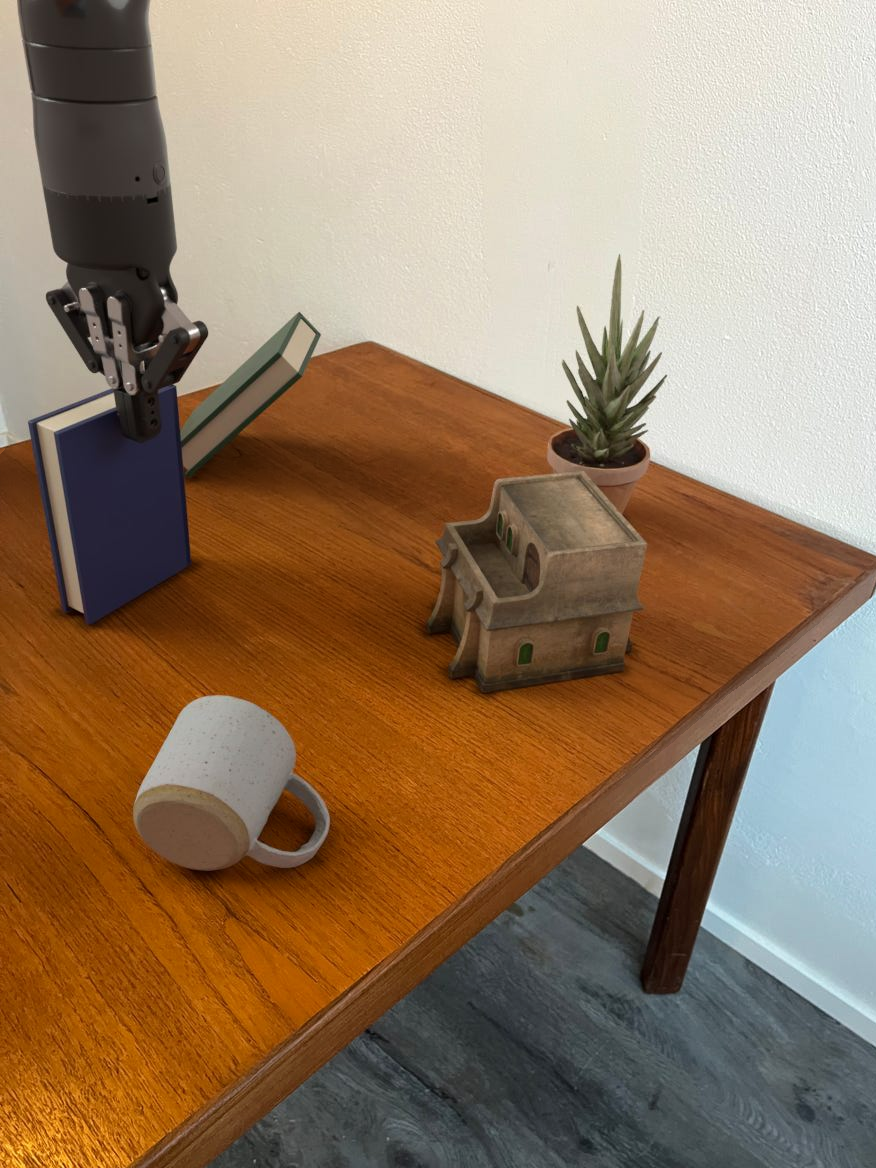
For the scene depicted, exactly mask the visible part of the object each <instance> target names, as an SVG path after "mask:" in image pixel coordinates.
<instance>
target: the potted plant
mask: <svg viewBox="0 0 876 1168" xmlns="http://www.w3.org/2000/svg"><path fill="white" fill-rule="evenodd" d="M621 259H622V258H621V253H619V254H618V257H617V260H616V264H615V269H614V277H613V284H612V289H611V301H610V311H609V312H610V315H609V328H608V329H609V330H607V326H606V325H604V327H603V332H602V333H603V335H602V340H601V353H600V351H599V350H598V348H597V346H596V344H595V342H594V340H593V338H592V336H591V334H590V331H589V328H588V326H587V323H586V321H585V319H584V316H583V314H582V311H581V309H580V306H579V305H576V316H577V320H578V325H579V329H580V331H581V336H582V338H583V341H584V345H585V349H586V352H587V355H588V358H589V360H590V363H591V367H592V369H593V373H594V375H595V379H594V377H593V375H592V374H591V373H590V372H589V370H588V368H587V367H586V364H585V363H584V361H583V359H582V357H581V355H580V353H579V352H578V350H577V349H575V358H576V362H577V366H578V369H577V374H578V377H579V379H580V382H581V384H582V386H583V388H584V390H585V392H586V395H587V396H586V395H584V393H583V390H582V389H581V387H580V386H579V384H578V382H577V379H576V378H575V375H574V374H573V372H572V370H571V369H570V367H569V366H568V364H567V363H566V360H565V359H562V362H561V366H562V369H563V372H564V373H565V375H566V378H567V380H568V382H569V384H570V386H571V388H572V390H573V392H574V395H575V396H576V398H577V399H578V401H579V403H580V405H581V408H582V410H583V412H584V414H585V415H586V418H585V417H584V416H583V415H582V414H581V413H580V412H579V411H578V409H577V408H576V407H575V406H574V405H573V404H572V403H571V402H570V400H568V399H566V401H565V402H566V404H567V406H568V409H569V410H570V411H571V413H572V415H573V416H574V417H575V418H576V423H575V421H574V420H572V419H571V418H568V421H569V424H570V426H571V427H567V428H565V429H562V430H559V431H557V432H555V433H554V434H552V435H551V436H550V438H549V440H548V441H547V454H546V455H547V456H546V458H547V463H548V464H549V465H550V467H551V469H552V472H553V473H552V474H558V473H569V472H580V471H584V472H585V473H586V475H587V476H588V477H589V478H590V479H591V480H592V481H593V482H594V484H595V485H596V486H597V487H598V488H599V489H600V490H601V492H602V493H603V494H604V495H605V496H606V497H607V498H608V500H609V501H610V502H611V503H612V504H613V505H614V506H615V507H616V509H617V510H618V511H619V512H620V513H621V514H622V515H623V514H624V511H625V509H626V508H627V505H628V503H629V501H630V499H631V497H632V495H633V493H634V491H635V489H636V487H637V485H638V482H639V480H640V479H641V478H642V477H644V476H645V474H646V473H647V471H648V469H649V464H650V460H651V450H650V447H649V445H647V443H645V441H643V440H642V439H640V438H641V437H642V436H643V435H644V434H646V433H648V432H649V429H645V430H642V428H643V427H646V425H647V423H646V422H644V423H641V424H639V425H637V426H635V425H636V424H637V423H638V422H639V421H640V420H641V419H642V417H643V416H644V415H645V414H646V413H647V412H648V410H649V409H650V407H649V406H650V405H651V404H652V403H653V402H654V401H655V399H656V398H657V395H656V393H657V392H658V391H659V390H660V388H662V386H663V384H664V383H665V380H666V379H667V378H668V374H665V375H664V376H663V377H662V378H661V379H660V381H658V383H656V385H655V386H654V387H653V388H652V389H651V390H649V392H647V393H646V394H645V395H644V396H643V397H642V399H640V401H639V402H637V403H636V404H634V405H632V406H629V405H630V404H631V403H632V401H634V399H635V397H636V396H637V395H638V393H639V392H640V390H641V389H642V387H643V386H644V385H645V383H646V382H647V380H648V379H649V377H650V376H651V374H652V373H653V371H654V369H655V368H656V366H657V364H658V363H659V361H660V359H661V357H662V354H663V351H660V352H659V354H657V356H656V357H655V358H654V359H653V360H652V361H651V362H650V364H649V365H648V366H647V364H648V362H649V360H650V355H651V350H649V349H650V347H651V344H652V342H653V341H654V337H655V335H656V333H657V329H658V326H659V320H660V318H661V316H658V315H657V317H656V319H655V320H654V321H653V324H652V325H651V327H650V328H649V330H648V331H647V332H646V334H645V335H644V336H643V338H642V340H640V342H639V339H640V335H641V332H642V331H641V330H642V327H643V323H644V317H645V309H643V310H642V311H641V314H640V315H639V318H638V319H637V321H636V324H635V326H634V327H633V330H632V332H631V335H630V337H629V339H628V340H627V343H626V345H625V347H624V349H623V351H622V342H623V328H624V327H623V325H624V322H623V319H621V313H622V312H621V311H622V260H621ZM638 342H639V343H638ZM646 367H647V368H646ZM641 430H642V431H641ZM639 431H640V432H639ZM637 432H638V433H637Z"/></svg>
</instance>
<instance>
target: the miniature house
mask: <svg viewBox="0 0 876 1168" xmlns="http://www.w3.org/2000/svg"><path fill="white" fill-rule="evenodd" d="M489 503H490V504H489V508H488V510H487V512H486V513H485V514H483V516H481V517H480V518H477V519H473V520H461V521H453V522H445V523H444V529H443V533H442V536H441V537H440V538H439V539H436V540H435V544H436V546H437V548H438V549H439V551H440V553H441V555H442V559H441V560H440V561H439V564H440V566H441V575H440V576H441V579H440V589H439V594H438V597H437V600H436V603H435V605H434V608H433V609H432V613H431V615H430V617H429V618H428V619H427V620H426V630H427V632H428V634H429V635H436V634H444V633H450V635H451V637H452V639H453V640H454V642H455V645H456V647H457V648H458V649H457V651H456V654H455V656H454V658H453V660H452V661H451V663H449V664H448V675H449V677H450V679H451V680H458V679H463V678H471V677H472V678H474V680H475V683H476V685H477V686H478V688H479V690H480V692H481V693H482V694H491V693H497V692H505V691H511V690H517V689H522V688H530V687H537V686H542V685H547V684H554V683H560V682H561V683H562V682H568V681H573V680H580V679H586V678H587V679H588V678H592V677H598V676H599V677H600V676H604V675H611V674H617V673H622V672H624V671H625V665H626V662H625V654H627V653H631V652H632V648H633V642H632V641H631V638H630V631H631V625H632V620H633V615H634V612H636V611H643V610H644V608H645V607H644V606H643V604H642V603H641V602H640V600H639V597H638V592H639V591H638V590H639V586H640V580H641V576H642V571H643V567H644V561H645V557H646V551H647V547H648V543H647V541H646V540H645V539H644V538H643V537H642V535H641V534H640V533H639V532H638V531H637V530H636V529H635V528H634V526H633V525H632V524H631V523H630V522H629V521H628V520H627V519H626V518H625V517H624V515H623V514H621V513H620V512H619V511H618V510H617V509H616V507H615V506H614V505H613V504H612V503H611V502H610V501H609V500H608V498H607V497H606V496H605V495H604V494H603V493H602V492H601V490H600V489H599V488H598V487H597V486H596V485H595V484H594V482H593V481H592V480H591V479H590V478H589V477H588V476H587V475H586V473H585V472H584V471H580V472H569V473H558V474H554V473H547V474H537V475H526V476H515V477H504V478H503V477H502V478H497V479H496V480H495V481H494V483H493V488H492V493H491V498H490V502H489Z"/></svg>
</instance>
